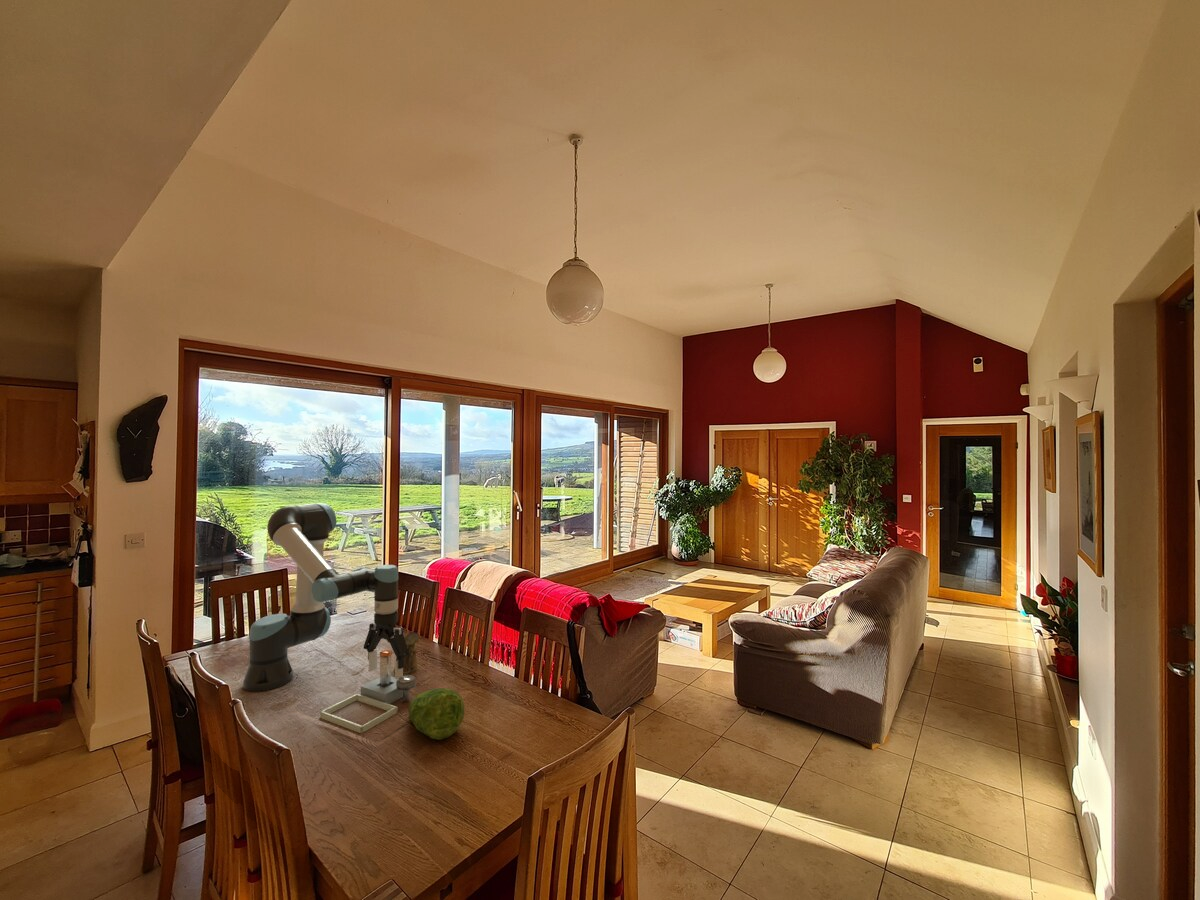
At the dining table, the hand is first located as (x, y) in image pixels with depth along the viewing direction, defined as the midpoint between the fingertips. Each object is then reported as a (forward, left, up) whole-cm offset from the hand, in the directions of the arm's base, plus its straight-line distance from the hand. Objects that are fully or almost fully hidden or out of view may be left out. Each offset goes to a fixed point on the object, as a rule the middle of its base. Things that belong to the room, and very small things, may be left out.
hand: (385, 673), depth 169 cm
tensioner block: (0, 0, -9) cm, 9 cm away
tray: (+3, -12, -9) cm, 15 cm away
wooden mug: (-8, +17, -9) cm, 21 cm away
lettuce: (+27, -6, -9) cm, 30 cm away
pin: (0, 0, -7) cm, 7 cm away
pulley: (+9, +1, -9) cm, 12 cm away
